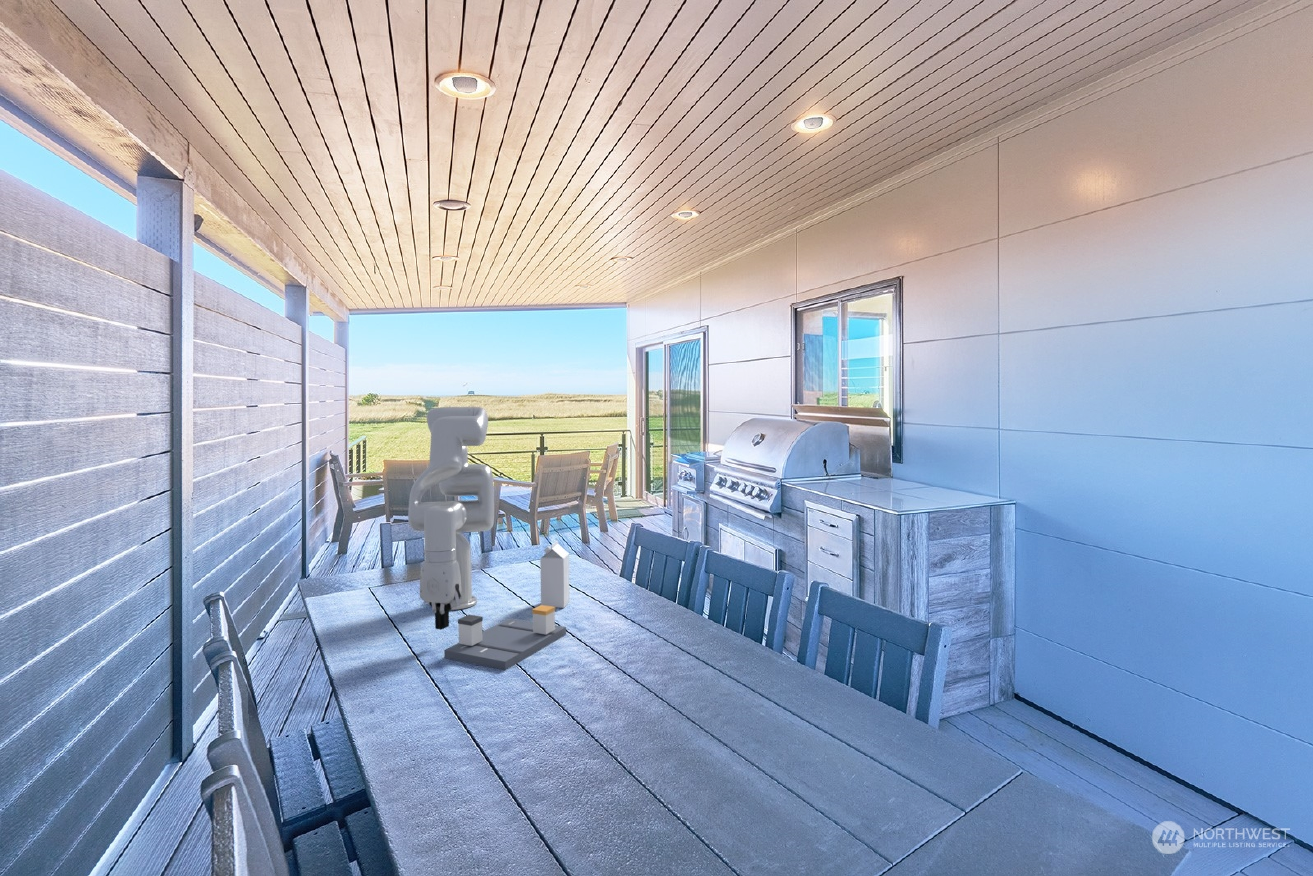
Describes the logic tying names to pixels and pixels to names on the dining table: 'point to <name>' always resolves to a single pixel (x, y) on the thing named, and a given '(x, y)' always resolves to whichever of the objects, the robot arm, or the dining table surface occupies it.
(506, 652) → the console
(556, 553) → the milk carton
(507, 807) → the dining table surface
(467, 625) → the block
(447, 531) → the robot arm
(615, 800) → the dining table surface
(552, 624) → the fader orange
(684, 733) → the dining table surface
